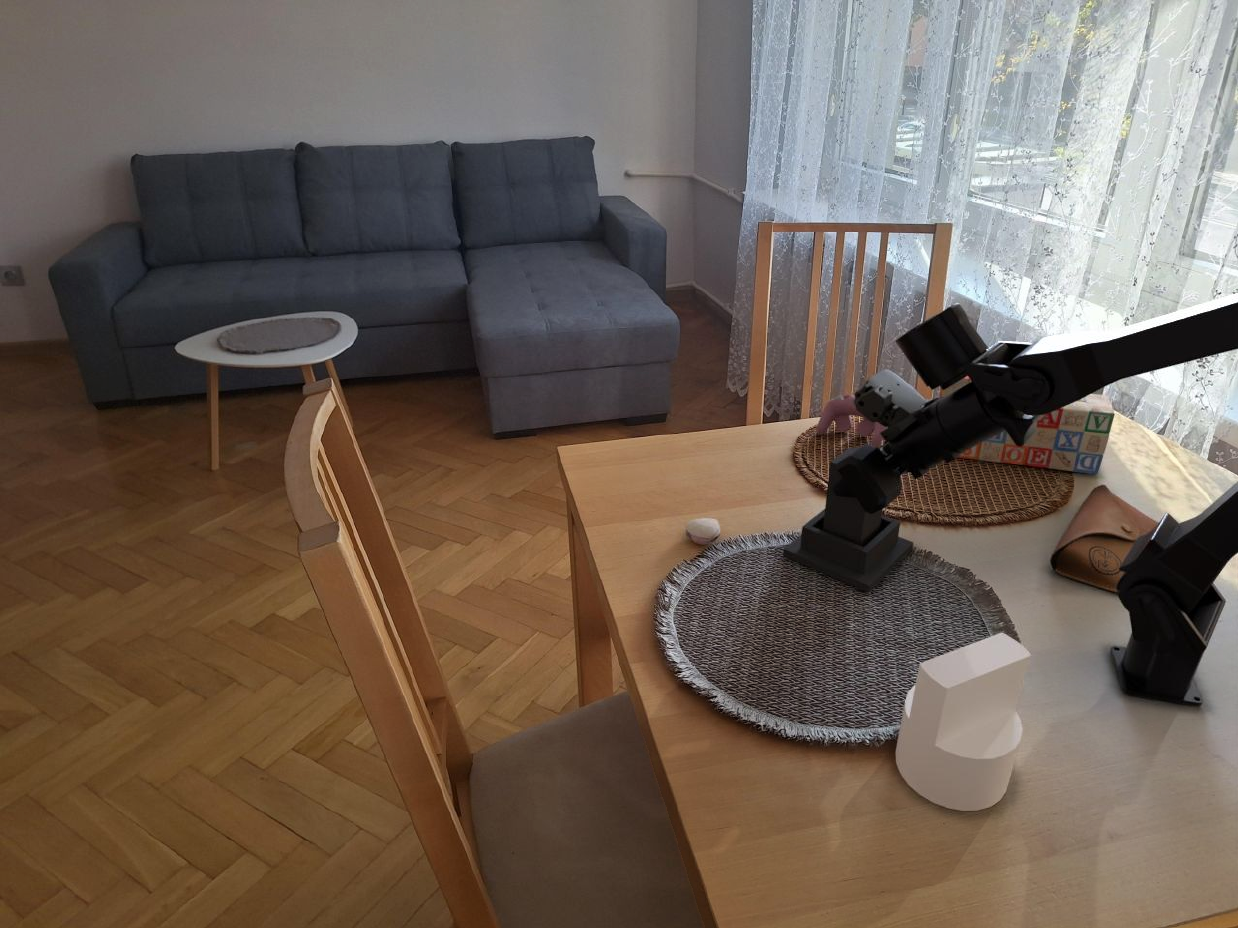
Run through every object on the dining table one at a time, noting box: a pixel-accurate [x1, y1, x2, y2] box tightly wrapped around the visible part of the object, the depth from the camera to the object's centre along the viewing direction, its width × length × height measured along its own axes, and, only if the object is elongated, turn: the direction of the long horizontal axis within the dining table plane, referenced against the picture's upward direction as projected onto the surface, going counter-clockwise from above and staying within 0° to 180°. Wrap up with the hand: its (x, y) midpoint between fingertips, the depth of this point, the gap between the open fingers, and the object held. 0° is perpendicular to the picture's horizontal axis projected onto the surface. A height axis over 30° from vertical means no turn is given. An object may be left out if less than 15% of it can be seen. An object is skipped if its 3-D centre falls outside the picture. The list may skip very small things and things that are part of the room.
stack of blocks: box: [938, 376, 1116, 475], centre depth 115 cm, size 21×6×12 cm, turn 70°
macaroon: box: [684, 517, 721, 546], centre depth 101 cm, size 4×5×2 cm
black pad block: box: [823, 446, 886, 548], centre depth 95 cm, size 5×5×10 cm
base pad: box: [782, 508, 914, 593], centre depth 97 cm, size 11×11×4 cm
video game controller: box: [816, 394, 888, 447], centre depth 123 cm, size 10×5×7 cm, turn 58°
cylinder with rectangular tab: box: [895, 632, 1032, 812], centre depth 68 cm, size 9×9×12 cm
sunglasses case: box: [1049, 484, 1160, 594], centre depth 97 cm, size 18×7×7 cm, turn 141°
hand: (845, 482), depth 95 cm, fingers closed on black pad block, 5 cm apart
